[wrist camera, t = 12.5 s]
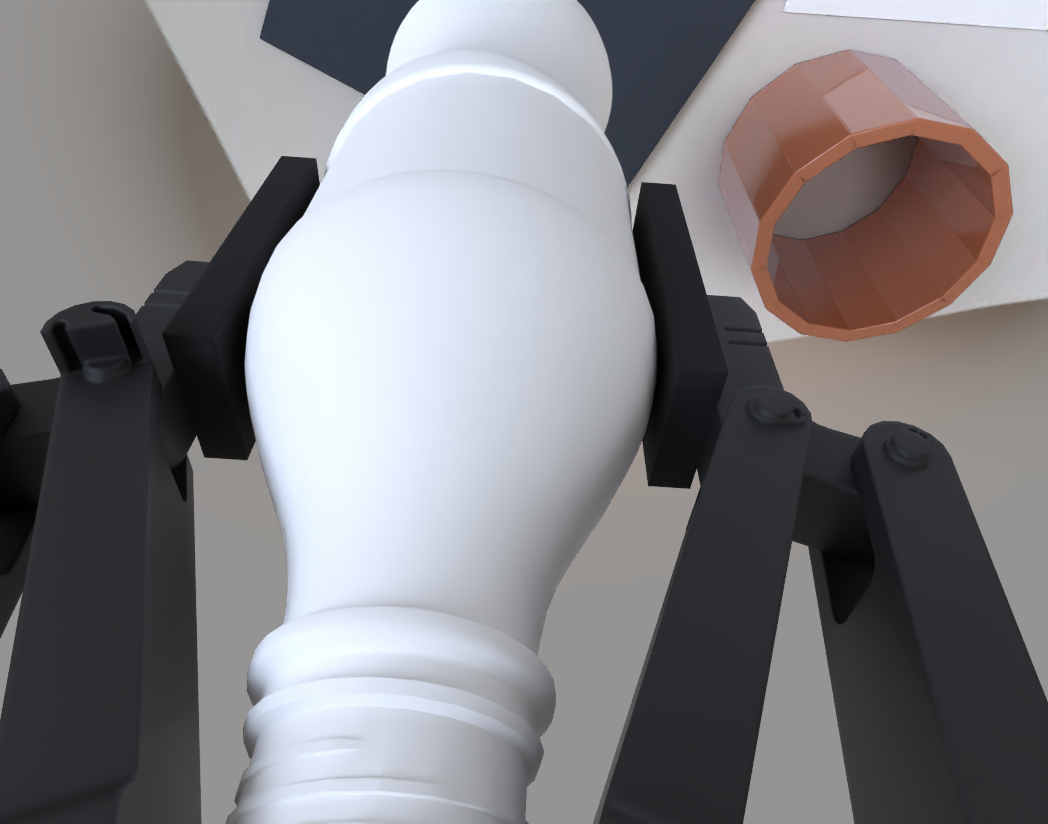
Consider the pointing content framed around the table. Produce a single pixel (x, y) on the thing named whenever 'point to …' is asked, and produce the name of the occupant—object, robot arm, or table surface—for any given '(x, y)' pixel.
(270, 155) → the table surface
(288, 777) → the water bottle
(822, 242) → the terracotta flower pot
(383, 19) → the mat
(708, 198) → the table surface
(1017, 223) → the table surface
